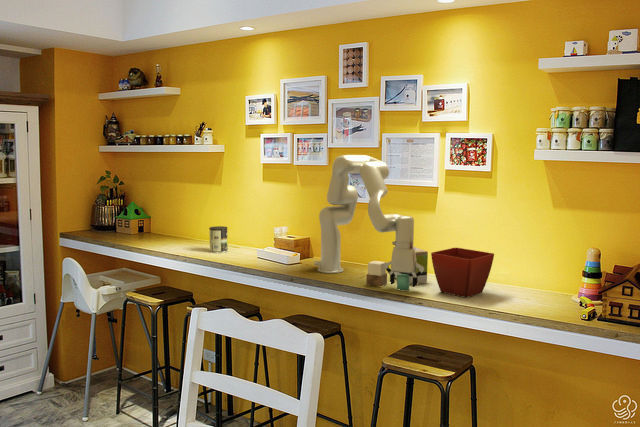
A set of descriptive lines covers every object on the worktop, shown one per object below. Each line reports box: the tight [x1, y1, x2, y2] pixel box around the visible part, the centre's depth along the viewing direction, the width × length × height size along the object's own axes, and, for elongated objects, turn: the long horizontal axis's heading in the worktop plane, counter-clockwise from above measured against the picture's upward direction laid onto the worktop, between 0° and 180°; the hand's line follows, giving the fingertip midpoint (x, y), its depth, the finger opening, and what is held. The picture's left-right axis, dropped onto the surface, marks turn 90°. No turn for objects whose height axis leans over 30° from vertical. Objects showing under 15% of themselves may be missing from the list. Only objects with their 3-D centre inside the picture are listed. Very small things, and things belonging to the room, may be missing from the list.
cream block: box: [367, 260, 387, 276], centre depth 243 cm, size 6×6×5 cm
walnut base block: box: [365, 272, 388, 287], centre depth 243 cm, size 7×7×5 cm
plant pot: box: [430, 247, 495, 298], centre depth 230 cm, size 19×19×17 cm
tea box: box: [392, 246, 429, 285], centre depth 252 cm, size 15×10×15 cm, turn 21°
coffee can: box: [209, 225, 229, 254], centre depth 318 cm, size 10×10×14 cm
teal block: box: [396, 274, 410, 291], centre depth 235 cm, size 5×5×6 cm
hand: (403, 285), depth 235 cm, fingers open, 9 cm apart
